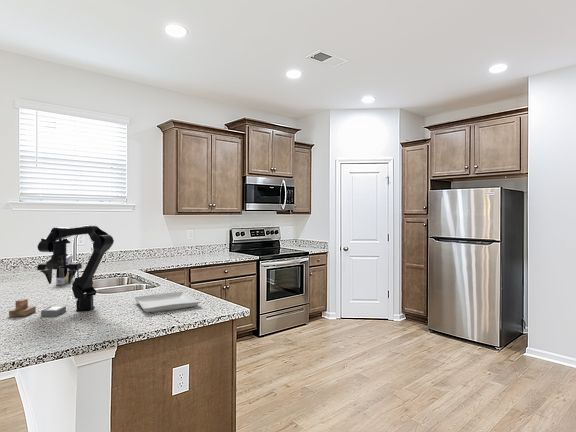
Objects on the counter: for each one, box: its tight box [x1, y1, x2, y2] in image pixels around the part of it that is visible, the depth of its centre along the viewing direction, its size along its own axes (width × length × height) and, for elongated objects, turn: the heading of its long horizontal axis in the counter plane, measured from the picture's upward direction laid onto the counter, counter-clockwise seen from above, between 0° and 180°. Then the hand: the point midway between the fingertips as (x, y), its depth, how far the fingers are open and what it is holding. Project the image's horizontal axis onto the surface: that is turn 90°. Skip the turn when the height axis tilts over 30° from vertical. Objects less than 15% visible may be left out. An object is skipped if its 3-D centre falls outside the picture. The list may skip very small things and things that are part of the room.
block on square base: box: [8, 298, 37, 317], centre depth 172 cm, size 7×8×6 cm
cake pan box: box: [55, 254, 74, 286], centre depth 248 cm, size 19×5×18 cm, turn 14°
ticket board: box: [40, 305, 67, 317], centre depth 173 cm, size 7×8×3 cm
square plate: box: [133, 291, 200, 313], centre depth 190 cm, size 27×27×4 cm
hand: (59, 283), depth 184 cm, fingers open, 9 cm apart
